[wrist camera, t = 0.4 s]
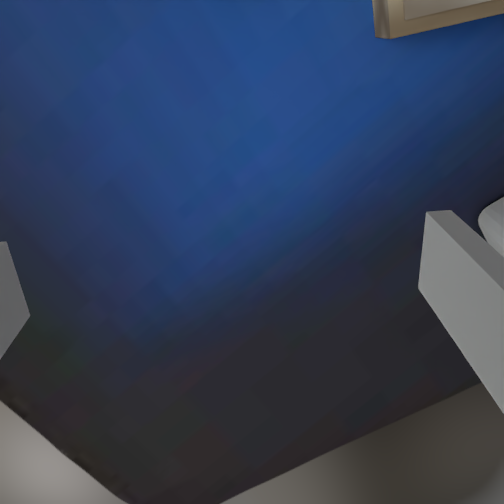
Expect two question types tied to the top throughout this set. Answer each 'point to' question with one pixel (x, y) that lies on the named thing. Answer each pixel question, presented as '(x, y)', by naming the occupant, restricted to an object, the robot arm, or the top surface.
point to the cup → (493, 225)
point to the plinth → (428, 14)
